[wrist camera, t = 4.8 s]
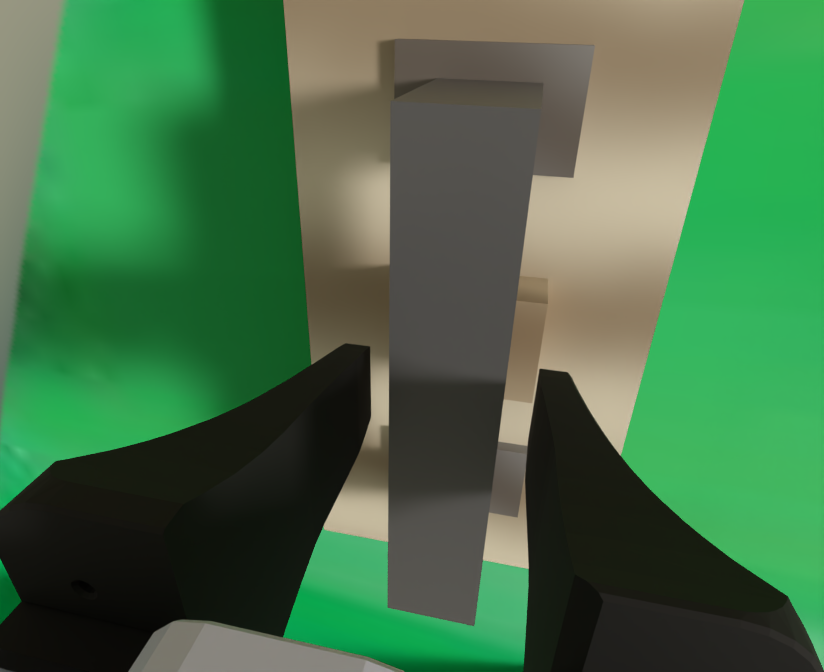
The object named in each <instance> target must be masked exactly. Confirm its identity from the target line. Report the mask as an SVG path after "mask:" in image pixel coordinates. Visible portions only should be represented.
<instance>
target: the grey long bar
mask: <svg viewBox="0 0 824 672" xmlns="http://www.w3.org/2000/svg"><path fill="white" fill-rule="evenodd" d="M543 84H544V83H532V82H510V81H489V80H467V79H445V78H437V79H435V80H433V81H431V82H429V83H427V84H425V85H423V86H420V87H418V88H416V89H414V90H412V91H410V92H408V93H406V94H404V95H402V96H400V97H398V98H396V99H394V100H392V101H391V104H390V284H389V464H388V608H392V609H397V610H402V611H406V612H411V613H416V614H420V615H425V616H430V617H434V618H439V619H444V620H448V621H453V622H458V623H463V624H467V625H472V626H474V624H475V616H476V608H477V601H478V593H479V585H480V577H481V570H482V562H483V554H484V547H485V539H486V531H487V524H488V516H489V508H490V501H491V493H492V485H493V478H494V470H495V462H496V454H497V447H498V439H499V431H500V424H501V416H502V408H503V401H504V393H505V385H506V378H507V370H508V362H509V355H510V347H511V339H512V331H513V324H514V316H515V308H516V301H517V293H518V285H519V278H520V270H521V262H522V255H523V247H524V239H525V232H526V224H527V216H528V208H529V201H530V193H531V185H532V178H533V170H534V162H535V155H536V147H537V139H538V132H539V124H540V116H541V108H542V96H543Z"/></svg>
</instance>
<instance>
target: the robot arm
mask: <svg viewBox="0 0 824 672" xmlns="http://www.w3.org/2000/svg"><path fill="white" fill-rule="evenodd" d="M370 419H371V367H370V346H364V345H356V344H348V343H345V344H343V345H341V346H340V347H338V348H336V349H335V350H333V351H332V352H330V353H329V354H327V355H326V356H324V357H323V358H321V359H320V360H318V361H317V362H315V363H314V364H312V365H310V366H309V367H307V368H306V369H304V370H303V371H301V372H300V373H298V374H296V375H295V376H293V377H292V378H290V379H288V380H287V381H285V382H283V383H282V384H280V385H278V386H276V387H275V388H273V389H271V390H269V391H268V392H266V393H264V394H262V395H260V396H259V397H257V398H255V399H253V400H251V401H249V402H247V403H245V404H243V405H241V406H239V407H237V408H235V409H233V410H230V411H228V412H226V413H224V414H222V415H219V416H217V417H215V418H212V419H210V420H207V421H204V422H202V423H199V424H196V425H193V426H191V427H188V428H185V429H182V430H180V431H177V432H174V433H171V434H168V435H165V436H162V437H158V438H155V439H152V440H149V441H145V442H141V443H138V444H134V445H130V446H126V447H122V448H118V449H114V450H110V451H105V452H100V453H95V454H90V455H86V456H81V457H76V458H71V459H66V460H60V461H56V462H54V463H53V464H52V465H51V466H50V467H49V468H48V469H46V470H45V471H44V472H43V473H42V474H41V475H40V476H39V477H37V478H36V479H35V480H34V481H33V482H32V483H31V484H30V485H28V486H27V487H26V488H25V489H24V490H23V491H22V492H21V493H19V494H18V495H17V496H16V497H15V498H14V499H13V500H11V501H10V502H9V503H8V504H7V505H6V506H5V507H4V508H2V509H1V510H0V559H1V561H2V563H3V565H4V567H5V569H6V571H7V573H8V575H9V577H10V579H11V581H12V583H13V585H14V587H15V589H16V591H17V593H18V595H19V597H20V599H21V601H22V602H21V603H20V604H19V605H18V606H17V607H16V608H15V609H14V610H13V611H12V612H11V614H10V615H9V616H8V617H7V618H6V619H5V620H4V621H3V622H2V623H1V625H0V672H404V671H403V670H400V669H397V668H395V667H392V666H390V665H387V664H385V663H382V662H380V661H377V660H374V659H372V658H369V657H366V656H361V655H357V654H352V653H348V652H344V651H339V650H335V649H331V648H326V647H322V646H318V645H313V644H309V643H304V642H300V641H296V640H291V639H287V638H283V635H284V632H285V629H286V626H287V623H288V620H289V617H290V614H291V611H292V608H293V605H294V603H295V600H296V597H297V594H298V591H299V588H300V585H301V582H302V579H303V577H304V574H305V571H306V569H307V566H308V563H309V560H310V558H311V555H312V552H313V549H314V547H315V544H316V542H317V539H318V537H319V535H320V533H321V530H322V528H323V526H324V524H325V522H326V520H327V518H328V516H329V514H330V512H331V510H332V508H333V506H334V504H335V502H336V500H337V498H338V496H339V494H340V491H341V489H342V487H343V485H344V483H345V481H346V479H347V477H348V475H349V473H350V471H351V469H352V467H353V465H354V463H355V461H356V459H357V457H358V454H359V452H360V450H361V447H362V444H363V441H364V438H365V435H366V432H367V429H368V425H369V422H370ZM525 494H526V517H527V540H528V562H529V589H528V607H527V624H526V641H525V657H524V672H824V670H823V668H822V665H821V663H820V661H819V658H818V656H817V654H816V651H815V649H814V646H813V644H812V642H811V640H810V638H809V636H808V634H807V631H806V629H805V627H804V625H803V624H802V622H801V620H800V618H799V616H798V615H797V613H796V611H795V609H794V608H793V606H792V604H791V602H790V600H789V598H788V596H786V595H785V594H783V593H782V592H780V591H779V590H777V589H776V588H774V587H773V586H771V585H770V584H768V583H767V582H765V581H764V580H762V579H761V578H759V577H758V576H756V575H755V574H753V573H752V572H750V571H749V570H747V569H746V568H744V567H743V566H741V565H740V564H738V563H737V562H735V561H734V560H732V559H731V558H730V557H728V556H727V555H726V554H724V553H723V552H722V551H721V550H719V549H718V548H717V547H715V546H714V545H713V544H711V543H710V542H709V541H707V540H706V539H705V538H704V537H702V536H701V535H700V534H699V533H697V532H696V531H695V530H694V529H693V528H691V527H690V526H689V525H688V524H687V523H685V522H684V521H683V520H682V519H681V518H680V517H679V516H678V515H676V514H675V513H674V512H673V511H672V510H671V509H670V508H669V507H668V506H667V505H665V504H664V503H663V502H662V501H661V500H660V499H659V498H658V497H657V496H656V495H655V494H654V493H653V492H652V491H651V490H650V489H649V488H648V487H647V486H646V485H645V484H644V483H643V481H642V480H641V479H640V478H639V477H638V476H637V475H636V474H635V473H634V472H633V471H632V469H631V468H630V467H629V466H628V465H627V463H626V462H625V461H624V460H623V458H622V457H621V456H620V454H619V453H618V452H617V450H616V449H615V448H614V446H613V445H612V444H611V442H610V441H609V440H608V438H607V437H606V435H605V434H604V432H603V431H602V429H601V428H600V426H599V425H598V423H597V422H596V420H595V418H594V417H593V415H592V414H591V412H590V410H589V409H588V407H587V405H586V404H585V402H584V400H583V398H582V396H581V395H580V393H579V391H578V389H577V387H576V385H575V383H574V381H573V379H572V377H571V376H570V374H569V373H568V372H563V371H555V370H548V369H539V375H538V381H537V387H536V394H535V400H534V406H533V412H532V418H531V425H530V431H529V437H528V446H527V458H526V472H525Z"/></svg>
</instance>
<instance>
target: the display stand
mask: <svg viewBox="0 0 824 672" xmlns="http://www.w3.org/2000/svg"><path fill="white" fill-rule="evenodd" d="M283 3H284V16H285V28H286V41H287V54H288V67H289V80H290V93H291V106H292V119H293V132H294V145H295V158H296V171H297V184H298V197H299V210H300V223H301V235H302V248H303V261H304V274H305V287H306V300H307V313H308V326H309V339H310V352H311V365H312V364H314V363H315V362H317V361H318V360H320V359H321V358H323V357H324V356H326V355H327V354H329V353H330V352H332V351H333V350H335V349H336V348H338V347H340V346H341V345H343V344H345V343H348V344H356V345H364V346H370V367H371V419H370V422H369V425H368V429H367V432H366V435H365V438H364V441H363V444H362V447H361V450H360V452H359V454H358V457H357V459H356V461H355V463H354V465H353V467H352V469H351V471H350V473H349V475H348V477H347V479H346V481H345V483H344V485H343V487H342V489H341V491H340V494H339V496H338V498H337V500H336V502H335V504H334V506H333V508H332V510H331V512H330V514H329V516H328V518H327V520H326V522H325V524H324V530H328V531H334V532H339V533H344V534H349V535H355V536H360V537H365V538H370V539H375V540H381V541H386V542H388V464H389V284H390V104H391V101H392V100H394V99H396V98H398V97H400V96H402V95H404V94H406V93H408V92H410V91H412V90H414V89H416V88H418V87H420V86H423V85H425V84H427V83H429V82H431V81H433V80H435V79H437V78H445V79H467V80H489V81H510V82H532V83H544V84H543V96H542V108H541V116H540V124H539V132H538V139H537V147H536V155H535V162H534V170H533V178H532V185H531V193H530V201H529V208H528V216H527V224H526V232H525V239H524V247H523V255H522V262H521V270H520V278H519V285H518V293H517V301H516V308H515V316H514V324H513V331H512V339H511V347H510V355H509V362H508V370H507V378H506V385H505V393H504V401H503V408H502V416H501V424H500V431H499V439H498V447H497V454H496V462H495V470H494V478H493V485H492V493H491V501H490V508H489V516H488V524H487V531H486V539H485V547H484V554H483V560H485V561H490V562H496V563H501V564H506V565H511V566H517V567H522V568H527V569H529V562H528V540H527V517H526V494H525V472H526V458H527V446H528V437H529V431H530V425H531V418H532V412H533V406H534V400H535V394H536V387H537V381H538V375H539V369H548V370H555V371H563V372H568V373H569V374H570V376H571V377H572V379H573V381H574V383H575V385H576V387H577V389H578V391H579V393H580V395H581V396H582V398H583V400H584V402H585V404H586V405H587V407H588V409H589V410H590V412H591V414H592V415H593V417H594V418H595V420H596V422H597V423H598V425H599V426H600V428H601V429H602V431H603V432H604V434H605V435H606V437H607V438H608V440H609V441H610V442H611V444H612V445H613V446H614V448H615V449H616V450H617V452H618V453H619V454H620V456H621V452H622V449H623V445H624V441H625V438H626V434H627V430H628V427H629V423H630V419H631V416H632V412H633V408H634V405H635V401H636V397H637V393H638V390H639V386H640V382H641V379H642V375H643V371H644V368H645V364H646V360H647V357H648V353H649V349H650V346H651V342H652V338H653V335H654V331H655V327H656V323H657V320H658V316H659V312H660V309H661V305H662V301H663V298H664V294H665V290H666V287H667V283H668V279H669V276H670V272H671V268H672V264H673V261H674V257H675V253H676V250H677V246H678V242H679V239H680V235H681V231H682V228H683V224H684V220H685V217H686V213H687V209H688V206H689V202H690V198H691V194H692V191H693V187H694V183H695V180H696V176H697V172H698V169H699V165H700V161H701V158H702V154H703V150H704V147H705V143H706V139H707V136H708V132H709V128H710V124H711V121H712V117H713V113H714V110H715V106H716V102H717V99H718V95H719V91H720V88H721V84H722V80H723V77H724V73H725V69H726V65H727V62H728V58H729V54H730V51H731V47H732V43H733V40H734V36H735V32H736V29H737V25H738V21H739V18H740V14H741V10H742V7H743V3H744V0H283Z"/></svg>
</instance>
